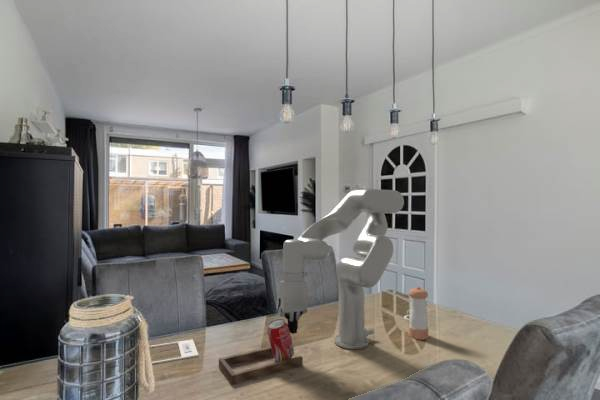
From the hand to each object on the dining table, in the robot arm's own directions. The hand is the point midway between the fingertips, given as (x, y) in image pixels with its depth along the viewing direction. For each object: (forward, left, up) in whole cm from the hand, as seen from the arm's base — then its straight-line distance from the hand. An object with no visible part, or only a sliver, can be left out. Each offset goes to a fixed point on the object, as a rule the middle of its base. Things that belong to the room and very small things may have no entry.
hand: (292, 332), depth 111 cm
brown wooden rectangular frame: (+11, 0, -9) cm, 14 cm away
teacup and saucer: (-67, -5, -9) cm, 68 cm away
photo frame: (+35, -25, -9) cm, 44 cm away
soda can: (+3, 0, -8) cm, 8 cm away
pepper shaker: (-52, +8, -9) cm, 54 cm away
